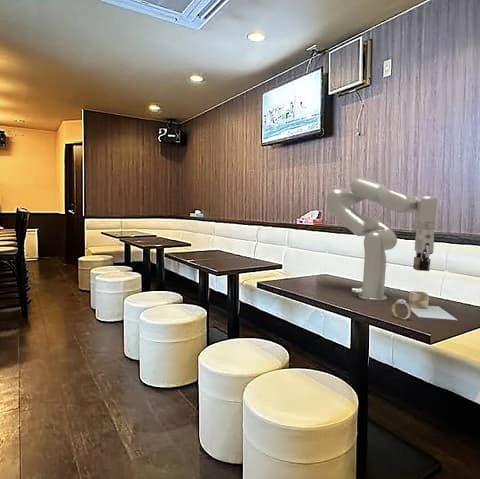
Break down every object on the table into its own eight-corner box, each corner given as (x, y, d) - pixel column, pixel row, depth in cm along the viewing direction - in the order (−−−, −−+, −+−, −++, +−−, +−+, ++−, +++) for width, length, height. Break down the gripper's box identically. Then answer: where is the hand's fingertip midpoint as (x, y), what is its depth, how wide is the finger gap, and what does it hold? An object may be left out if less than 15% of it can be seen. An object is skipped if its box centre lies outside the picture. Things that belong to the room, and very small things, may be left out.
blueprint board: (418, 318, 151) (418, 316, 151) (403, 305, 172) (404, 303, 172) (457, 322, 149) (457, 319, 149) (437, 307, 170) (438, 305, 170)
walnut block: (416, 270, 163) (417, 258, 162) (413, 268, 168) (414, 256, 167) (429, 271, 162) (430, 259, 162) (425, 269, 167) (426, 257, 167)
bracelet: (389, 318, 150) (391, 297, 150) (394, 317, 152) (396, 296, 152) (406, 323, 145) (408, 301, 144) (411, 321, 147) (413, 300, 146)
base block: (412, 308, 164) (413, 294, 163) (408, 304, 170) (409, 290, 169) (427, 309, 163) (429, 295, 163) (423, 305, 169) (424, 291, 169)
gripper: (442, 227, 154) (437, 273, 156) (427, 225, 171) (424, 266, 173) (421, 226, 155) (417, 272, 157) (409, 224, 172) (406, 265, 174)
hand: (421, 268), depth 165 cm, fingers closed on walnut block, 5 cm apart
